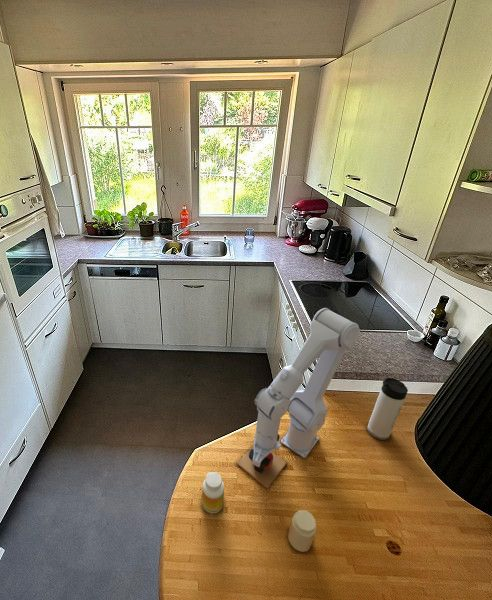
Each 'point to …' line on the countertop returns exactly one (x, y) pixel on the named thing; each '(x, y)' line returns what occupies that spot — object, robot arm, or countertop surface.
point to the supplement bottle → (213, 492)
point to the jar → (302, 530)
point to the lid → (270, 461)
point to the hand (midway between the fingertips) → (262, 461)
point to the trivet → (267, 474)
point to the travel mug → (387, 408)
